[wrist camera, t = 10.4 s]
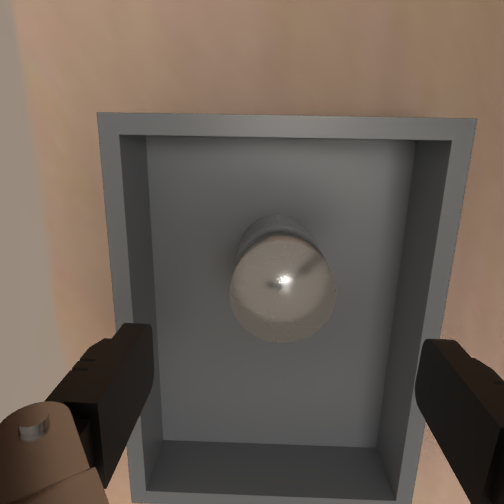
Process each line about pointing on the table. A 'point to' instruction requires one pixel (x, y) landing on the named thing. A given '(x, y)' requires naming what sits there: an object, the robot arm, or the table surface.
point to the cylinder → (281, 281)
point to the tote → (270, 353)
